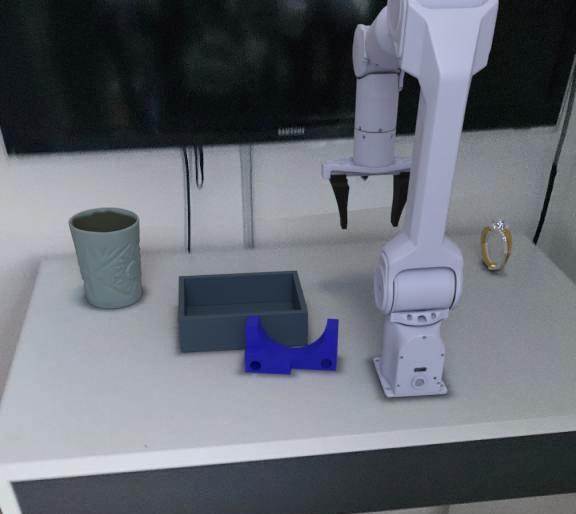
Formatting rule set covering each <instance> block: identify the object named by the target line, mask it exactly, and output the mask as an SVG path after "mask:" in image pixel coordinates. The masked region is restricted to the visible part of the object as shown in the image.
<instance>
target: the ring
mask: <svg viewBox="0 0 576 514" xmlns="http://www.w3.org/2000/svg"><path fill="white" fill-rule="evenodd" d="M492 231H494V232H495V233H496V234H497V235H498V236H499V238H500V240H501V243H502V254H501V258H500V260H499V261H498V263H497V264H496V262H493V261H492V260H491V258H490V254H489V247H488V245H489V238H490V234H491V233H492ZM512 248H513V237H512V233H511V230H510V224H509V223H508V222H506V220H505V219H503V220H502V218H500V219H495V218H492V223H490V224H489V225H487V226H485V227H483V229H482V230H481V234H480V249H481V255H482V259H483V261H484V263H485V265H486V267H487V269H488V271H497V270H501V269H502V268H504V267H505V265H507V262H508V261H509V259H510V256H511V253H512Z"/></svg>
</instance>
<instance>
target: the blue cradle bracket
mask: <svg viewBox="0 0 576 514" xmlns="http://www.w3.org/2000/svg"><path fill="white" fill-rule="evenodd" d="M339 323H340V318H327V320H326V325H325V328H324V330H323V332H322V333H321V335H320V336H319V337H318V338H317V339H316V340H315V341H313V342H312V343H309V344H308V345H307V346H296V347H295V346H289V347H286V346H283V345H280V344H278V343H276V342H275V341H273V340H272V339H271V338H270V337H269V336H268V335H267V334H266V333H265V331H264V329H263V327H262V325H261V322H260V316H255V315H248V318H247V322H246V325H245V332H246V349H244V367H245V370H244V371H245V373H250V374H251V373H253V374H273V375H274V374H275V375H291V373H292V370H293V369H294V370H312V371H313V370H315V371H334V372H336V371H337V365H338V364H337V363H338V346H339V345H338V344H339Z"/></svg>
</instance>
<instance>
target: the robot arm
mask: <svg viewBox="0 0 576 514" xmlns="http://www.w3.org/2000/svg"><path fill="white" fill-rule="evenodd" d="M499 3H500V2H499V0H387V3H386V5H385V6H384V7H383V8H382V9H381V10H380V12H379V13H378V15H377V16H376V17H375V19H374V20H373V22H372V23H371V24H370V25H365V24H362V23H359V24H357V26H356V28H355V30H354V36H353V42H352V66H353V72H354V75H355V77H356V90H355V110H354V132H353V151H352V153H353V155H352V156H349V157H342V158H336V159H330V160H329V159H328V160H321V169H320V172H321V173H320V175H321V178H322V179H323V180H328V181H329V183H330V186H331V189H332V191H333V195H334V198H335V202H336V205H337V209H338V214H339V226H340V228H341V230H348V221H349V220H348V219H349V218H348V206H349V196H350V188H351V187H350V185H349V179H348V177H349V178H350V177H372V176H373V177H374V176H392V202H391V210H390V224H391V226H392V227H393V228H398V227H399V224H400V219H401V217H402V214H403V212H404V208H405V212H404V220H403V221H404V222H403V228H402V231H400V232H399V233H398V234H396V235H395V236H394V237H392V238H391V239H390V240H389V241H387V242H386V243H385V244H384V245H382V246H381V247H380V252H379V255H378V261H377V265H376V267H375V270H374V275H373V296H374V297H373V298H374V302H375V307H376V308H377V310H378V311H379V312H380V313H381V314H382V315H384V326H383V337H382V347H381V348H382V350H381V356H375V357H373V358H372V362H373V365H374V369H375V372H376V373H377V376H378V379H379V382H380V384H381V388H382V390H383V393H384V396H385V397H386V398H402V397H403V398H404V397H419V396H435V395H437V396H438V395H446V394H447V393H448V388H447V386H446V384H445V382H444V379H443V373H444V367H445V361H446V351H447V350H446V346H445V343H444V340H443V338H442V329H443V322H444V320H445V319H448V318H449V315H450V311H451V310H452V311H453V310H454V309H456V307H457V306H458V304H460V302H461V300H462V296H463V292H464V290H463V289H464V265H465V259H464V256H463V253H462V251H461V248H460V246H459V245H458V244H457V243H456V242H455V241H454V240H453V239H451V238H450V237H449V236H448V235H446V228H447V223H448V217H449V210H450V204H451V200H452V199H451V198H452V194H453V193H452V192H453V186H454V181H455V176H456V175H455V174H456V168H457V162H458V156H459V150H460V145H461V138H462V132H463V126H464V120H465V116H466V115H465V114H466V108H467V103H468V97H469V92H470V89H471V83H472V79H473V76H474V75H476V74H477V73H479V72H480V71H482V70H483V69H484V68H485V67H487V65H488V61H489V55H490V52H491V49H492V44H493V38H494V35H495V29H496V28H495V27H496V22H497V18H498V11H499ZM405 73H406V74H408V75H410V76H412V77H413V78H416V79H417V80H418V84H419V86H420V90H419V98H418V99H419V100H418V107H417V115H416V123H415V129H414V137H413V138H414V140H413V147H412V156H402V155H401V156H400V155H395V147H396V134H397V133H396V132H397V121H398V110H399V109H398V107H399V96H400V92H401V91H403V87H404V77H405Z"/></svg>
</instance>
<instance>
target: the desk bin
mask: <svg viewBox="0 0 576 514" xmlns="http://www.w3.org/2000/svg"><path fill="white" fill-rule="evenodd" d="M177 301H178V304H177V305H178V306H177V307H178V309H177V310H178V314H177V321H178V330H179V339H180V340H179V341H180V347H181V353H196V352H197V353H198V352H216V351H234V350H235V351H236V350H245V349H246V332H245V325H246V322H247V318H248V315H255V316H260V322H261V325H262V327H263V329H264V331H265V333H266V334H267V335H268V336H269V337H270V338H271V339H272V340H273V341H275V342H276V343H278V344H280V345H283V346H286V347H304V346H307V345H309V344H308V343H309V310H308V307H307V303H306V299H305V295H304V292H303V288H302V284H301V280H300V276H299V273H298V270H278V271H277V270H276V271H275V270H274V271H260V272H256V271H255V272H237V273H217V274H214V273H213V274H198V275H197V274H196V275H179V276H178V300H177Z"/></svg>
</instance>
